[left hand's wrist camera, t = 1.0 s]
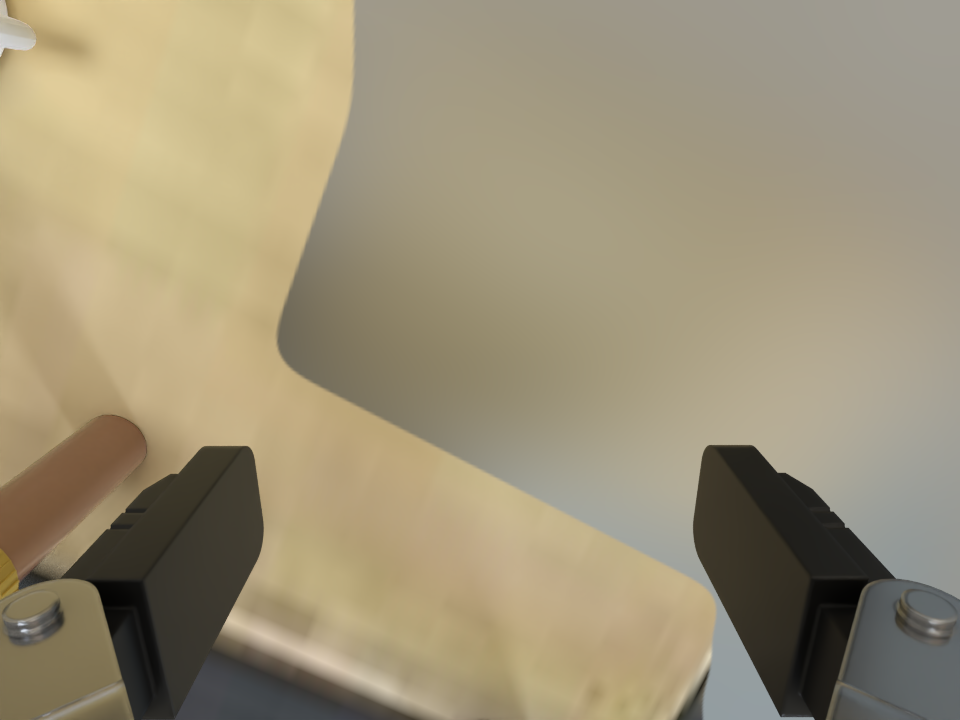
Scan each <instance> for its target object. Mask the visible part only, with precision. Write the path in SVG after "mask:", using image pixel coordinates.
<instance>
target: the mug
mask: <svg viewBox="0 0 960 720" xmlns="http://www.w3.org/2000/svg"><path fill="white" fill-rule="evenodd" d="M36 40H37V39H36V34H35V32H34V31H33V29H32V28H31V27H30V26H29V25H28V24H26V23H24V22H22V21H20V20H17V19H14V18H11V17H8V12H7V6H6V2H5V0H0V57H1V55H2V52H3V50H4V48H9V49H16V50H28V49H31V48H32V47H33V46H34V45H35V43H36Z"/></svg>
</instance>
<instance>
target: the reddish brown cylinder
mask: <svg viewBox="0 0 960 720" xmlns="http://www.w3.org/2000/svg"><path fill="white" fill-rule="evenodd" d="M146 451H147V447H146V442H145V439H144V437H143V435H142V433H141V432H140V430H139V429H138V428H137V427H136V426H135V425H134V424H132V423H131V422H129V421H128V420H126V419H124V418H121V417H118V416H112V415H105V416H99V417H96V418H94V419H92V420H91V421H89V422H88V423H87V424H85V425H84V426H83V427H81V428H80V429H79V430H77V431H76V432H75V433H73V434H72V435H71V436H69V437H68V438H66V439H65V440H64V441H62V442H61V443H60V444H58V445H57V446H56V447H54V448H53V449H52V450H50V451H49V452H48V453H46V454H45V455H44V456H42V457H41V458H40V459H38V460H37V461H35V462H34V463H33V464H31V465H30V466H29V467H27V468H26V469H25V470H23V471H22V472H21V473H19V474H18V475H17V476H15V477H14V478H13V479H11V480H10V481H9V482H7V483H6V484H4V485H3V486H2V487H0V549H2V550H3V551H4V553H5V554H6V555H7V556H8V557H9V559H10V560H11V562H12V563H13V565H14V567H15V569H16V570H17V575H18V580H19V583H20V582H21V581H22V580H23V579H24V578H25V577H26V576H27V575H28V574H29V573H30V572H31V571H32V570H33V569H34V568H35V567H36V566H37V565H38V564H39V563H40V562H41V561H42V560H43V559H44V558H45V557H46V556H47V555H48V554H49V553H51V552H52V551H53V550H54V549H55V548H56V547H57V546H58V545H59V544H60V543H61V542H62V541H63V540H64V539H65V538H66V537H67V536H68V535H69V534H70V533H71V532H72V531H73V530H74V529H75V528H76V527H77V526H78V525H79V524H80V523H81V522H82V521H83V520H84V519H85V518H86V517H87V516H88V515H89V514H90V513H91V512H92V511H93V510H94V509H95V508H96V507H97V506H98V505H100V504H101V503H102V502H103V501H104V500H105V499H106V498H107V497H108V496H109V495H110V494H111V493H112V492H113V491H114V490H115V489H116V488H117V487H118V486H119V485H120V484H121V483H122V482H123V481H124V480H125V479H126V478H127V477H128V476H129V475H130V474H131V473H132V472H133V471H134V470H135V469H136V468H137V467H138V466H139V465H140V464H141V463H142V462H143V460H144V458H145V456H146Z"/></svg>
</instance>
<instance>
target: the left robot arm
mask: <svg viewBox="0 0 960 720" xmlns="http://www.w3.org/2000/svg"><path fill="white" fill-rule="evenodd" d="M263 532H264V526H263V516H262V509H261V502H260V495H259V487H258V480H257V473H256V466H255V459H254V455H253V452H252V450H251V449H250V448H249V447H248V446H204V447H202V448H201V449H200V450H199V451H198V452H197V453H196V455H195V456H194V457H193V458H192V459H191V460H190V461H189V462H188V464H187V465H186V466H185V467H184V468H183V469H182V470H181V472H180V473H179V474H170V475H168V476H167V477H165V478H163V479H162V480H160V481H158V482H157V483H155V484H153V485H151V486H150V487H148V488H146V489H145V490H143V491H142V492H141V493H140V494H139V496H138V497H137V498H136V499H135V500H134V501H133V502H132V503H131V504H130V505H129V506H128V507H127V508H126V512H125V513H122V514H121V515H120V516H119V517H118V518H117V519H116V520H115V521H114V522H113V523H112V524H111V528H110V529H107V530H106V531H105V532H104V533H103V534H102V535H101V536H100V537H99V538H98V539H97V540H96V541H95V542H94V543H93V545H92V546H91V547H90V548H89V549H88V550H87V551H86V552H85V553H84V554H83V555H82V556H81V557H80V558H79V559H78V560H77V562H76V563H75V564H74V565H73V566H72V567H71V568H70V569H69V570H68V571H67V572H66V573H65V574H64V575H63V576H62V578H61V579H58V580H51V581H46V582H42V583H38V584H35V585H32V586H29V587H26V588H24V589H21V590H19V591H16V592H14V593H12V594H10V595H8V596H6V597H4V598H3V599H1V600H0V720H141V719H175V717H176V715H177V713H178V711H179V709H180V708H181V706H182V704H183V702H184V700H185V698H186V696H187V694H188V692H189V690H190V688H191V686H192V685H193V683H194V681H195V679H196V677H197V675H198V673H199V671H200V669H201V667H202V665H203V663H204V661H205V660H206V658H207V656H208V654H209V652H210V650H211V648H212V646H213V644H214V642H215V640H216V638H217V636H218V635H219V633H220V631H221V629H222V627H223V625H224V623H225V621H226V619H227V617H228V615H229V613H230V611H231V610H232V608H233V606H234V604H235V602H236V600H237V598H238V596H239V594H240V592H241V590H242V588H243V587H244V585H245V583H246V581H247V579H248V577H249V575H250V573H251V571H252V569H253V567H254V565H255V563H256V562H257V560H258V557H259V555H260V551H261V548H262V542H263ZM693 534H694V543H695V548H696V551H697V554H698V557H699V559H700V561H701V563H702V565H703V567H704V569H705V571H706V573H707V575H708V576H709V578H710V580H711V582H712V584H713V586H714V588H715V590H716V592H717V594H718V596H719V598H720V600H721V602H722V604H723V606H724V608H725V610H726V612H727V613H728V615H729V617H730V619H731V621H732V623H733V625H734V627H735V629H736V631H737V633H738V635H739V637H740V639H741V641H742V643H743V645H744V646H745V649H746V650H747V652H748V654H749V656H750V658H751V660H752V662H753V664H754V666H755V668H756V670H757V672H758V674H759V676H760V678H761V680H762V682H763V684H764V685H765V687H766V689H767V691H768V693H769V695H770V697H771V699H772V701H773V703H774V705H775V707H776V709H777V711H778V713H779V715H780V716H781V717H814V719H815V720H960V600H959V599H957V598H956V597H954V596H952V595H950V594H948V593H946V592H943V591H941V590H939V589H936V588H934V587H931V586H928V585H925V584H922V583H918V582H914V581H909V580H902V579H896V578H895V577H894V576H893V575H892V574H891V573H890V572H889V571H888V570H887V569H886V568H885V567H884V565H883V564H882V563H881V562H880V561H879V560H878V559H877V558H876V557H875V556H874V555H873V554H872V553H871V551H870V550H869V549H868V548H867V547H866V546H865V545H864V544H863V543H862V542H861V541H860V540H859V539H858V538H857V536H856V535H855V534H854V533H853V532H852V531H851V530H850V529H849V528H845V524H844V523H843V521H842V520H841V519H840V518H839V517H838V516H837V515H836V514H835V513H834V512H830V507H829V506H828V505H827V504H826V503H825V502H824V501H823V500H822V499H821V498H820V497H819V496H818V495H817V494H816V492H815V491H814V490H813V489H811V488H810V487H808V486H806V485H805V484H803V483H801V482H800V481H798V480H796V479H795V478H793V477H791V476H790V475H788V474H786V473H777V472H776V470H775V469H774V468H773V467H772V466H771V465H770V464H769V462H768V461H767V460H766V459H765V458H764V457H763V456H762V454H761V453H760V452H759V451H758V450H757V449H756V448H755V447H754V446H752V445H709V446H707V447H706V448H705V450H704V453H703V456H702V462H701V469H700V476H699V484H698V491H697V498H696V506H695V513H694V521H693Z"/></svg>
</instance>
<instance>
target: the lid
mask: <svg viewBox="0 0 960 720" xmlns="http://www.w3.org/2000/svg"><path fill="white" fill-rule="evenodd" d="M18 585H19V580H18V575H17V570H16V569H15V567H14V565H13V563H12V562H11V560H10V559H9V557H8V556H7V555H6V554H5V553H4V551H3V550H2V549H0V600H1V599H3V598H4V597H6V596H8V595H10V594H12V593H14V592H16V591H19V590H18Z"/></svg>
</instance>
